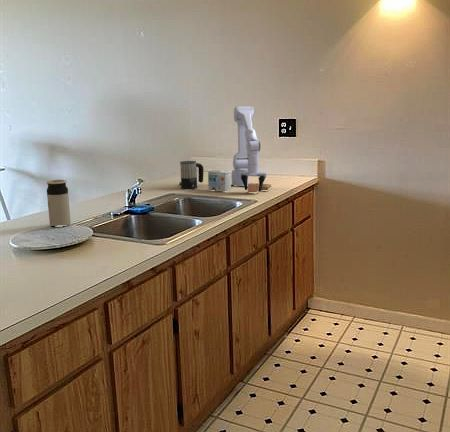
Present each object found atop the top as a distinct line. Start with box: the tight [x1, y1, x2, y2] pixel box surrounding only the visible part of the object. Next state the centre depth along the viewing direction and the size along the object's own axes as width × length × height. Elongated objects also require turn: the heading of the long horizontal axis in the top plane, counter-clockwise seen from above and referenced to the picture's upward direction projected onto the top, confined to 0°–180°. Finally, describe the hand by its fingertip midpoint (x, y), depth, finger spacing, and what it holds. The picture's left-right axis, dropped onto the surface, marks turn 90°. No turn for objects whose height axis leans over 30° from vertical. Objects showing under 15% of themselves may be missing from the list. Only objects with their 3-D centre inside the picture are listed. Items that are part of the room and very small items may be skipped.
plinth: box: [262, 183, 272, 190], centre depth 278 cm, size 8×8×2 cm
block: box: [247, 182, 260, 193], centre depth 269 cm, size 4×4×5 cm
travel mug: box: [46, 179, 72, 227], centre depth 205 cm, size 8×8×18 cm
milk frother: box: [179, 160, 205, 190], centre depth 287 cm, size 14×16×15 cm
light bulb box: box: [207, 169, 232, 192], centre depth 276 cm, size 11×7×11 cm, turn 62°
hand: (253, 190), depth 269 cm, fingers open, 7 cm apart
